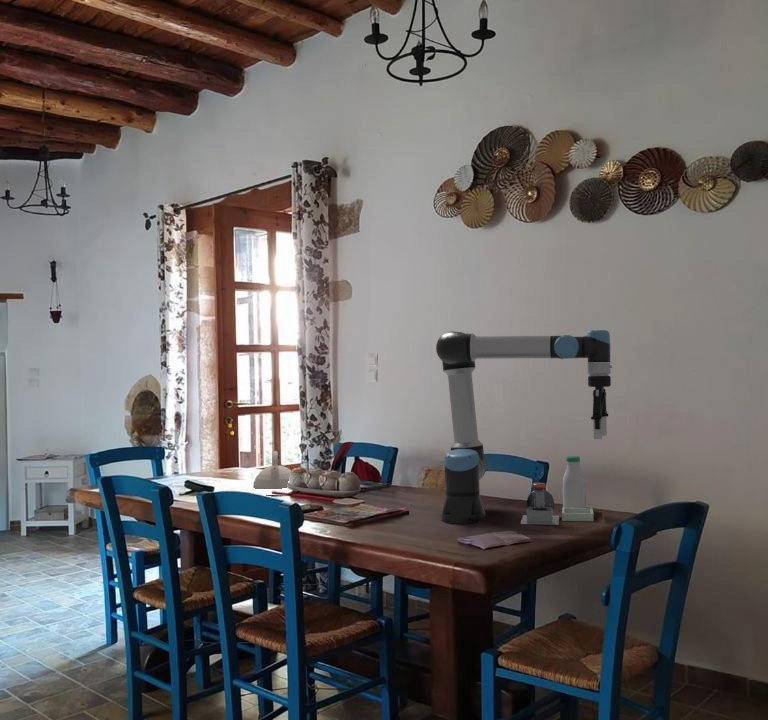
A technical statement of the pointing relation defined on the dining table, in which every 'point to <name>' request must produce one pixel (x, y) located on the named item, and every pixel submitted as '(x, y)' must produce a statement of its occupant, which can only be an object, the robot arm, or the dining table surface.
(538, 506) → the pin
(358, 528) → the dining table surface
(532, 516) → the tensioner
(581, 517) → the tray
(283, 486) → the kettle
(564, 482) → the milk bottle
